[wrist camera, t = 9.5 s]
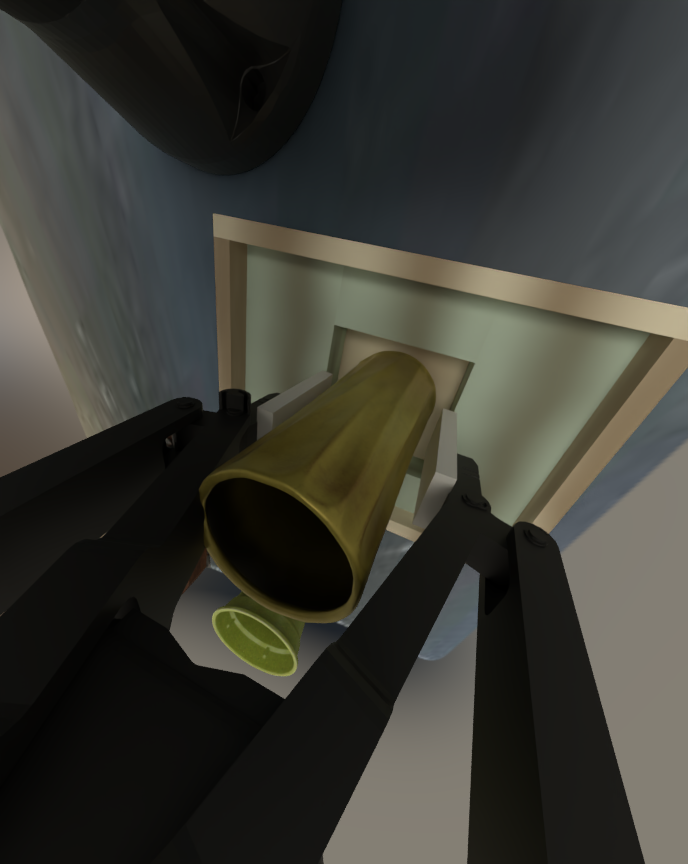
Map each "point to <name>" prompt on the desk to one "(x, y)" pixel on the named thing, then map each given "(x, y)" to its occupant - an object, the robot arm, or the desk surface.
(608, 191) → the desk surface
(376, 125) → the desk surface
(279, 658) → the plant pot
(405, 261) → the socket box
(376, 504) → the vase
